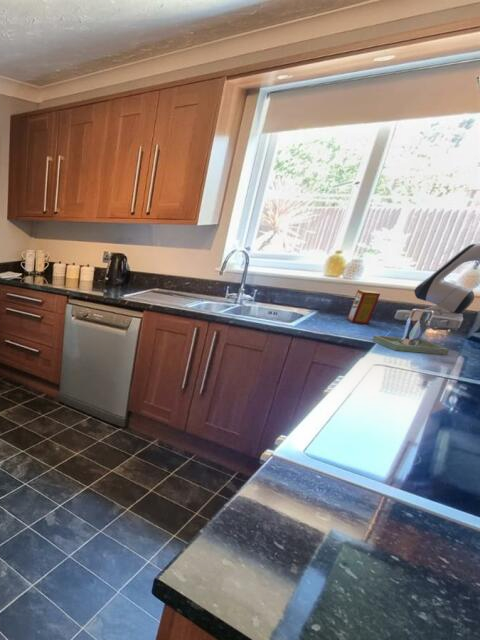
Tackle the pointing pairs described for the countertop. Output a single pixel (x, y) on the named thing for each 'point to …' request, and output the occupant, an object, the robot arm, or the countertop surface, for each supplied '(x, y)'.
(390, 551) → the countertop surface
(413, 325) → the beer glass
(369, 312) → the baking soda box
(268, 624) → the countertop surface
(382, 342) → the tray
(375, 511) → the countertop surface
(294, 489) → the countertop surface
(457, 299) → the robot arm
